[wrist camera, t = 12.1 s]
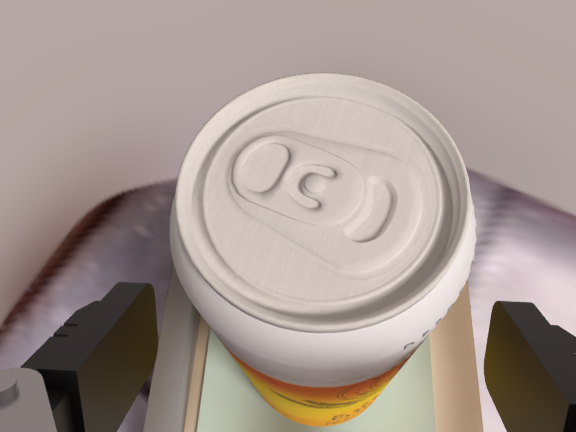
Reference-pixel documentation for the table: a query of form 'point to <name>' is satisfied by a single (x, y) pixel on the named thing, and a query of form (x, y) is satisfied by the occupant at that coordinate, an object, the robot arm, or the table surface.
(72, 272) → the table surface
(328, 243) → the beer can
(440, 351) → the square tray
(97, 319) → the robot arm
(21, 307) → the table surface
